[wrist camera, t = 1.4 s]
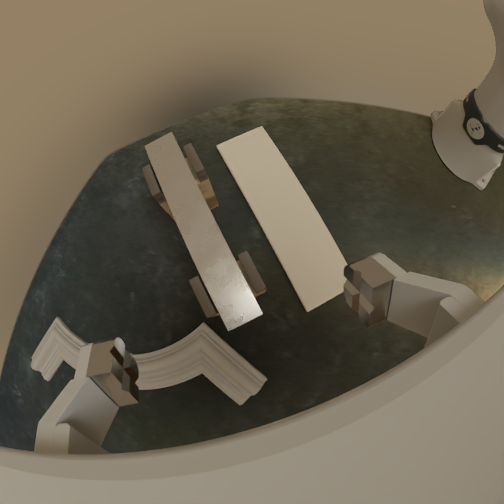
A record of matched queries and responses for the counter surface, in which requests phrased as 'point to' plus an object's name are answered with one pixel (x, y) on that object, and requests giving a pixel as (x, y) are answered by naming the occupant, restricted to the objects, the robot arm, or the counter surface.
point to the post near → (249, 275)
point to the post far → (197, 173)
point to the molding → (163, 361)
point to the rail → (202, 234)
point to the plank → (286, 217)
